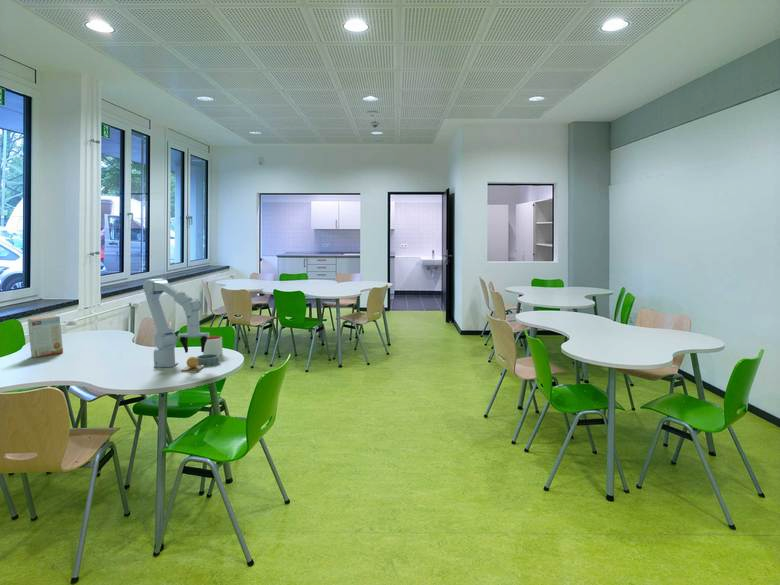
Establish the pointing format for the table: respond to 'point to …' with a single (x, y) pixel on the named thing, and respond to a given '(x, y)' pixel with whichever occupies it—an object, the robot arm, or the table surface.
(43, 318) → the cracker box
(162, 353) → the robot arm
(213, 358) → the bowl
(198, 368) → the pad
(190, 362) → the ball
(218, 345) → the cup
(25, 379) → the table surface
